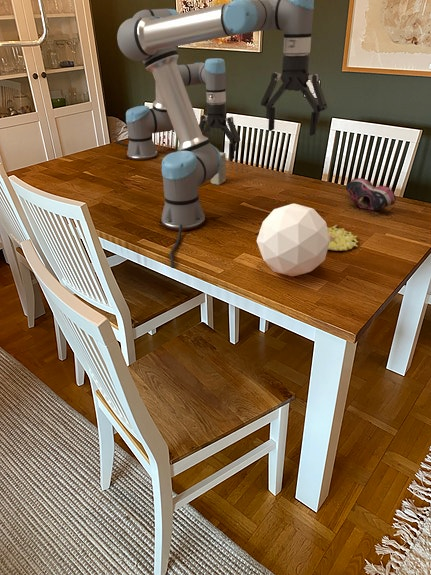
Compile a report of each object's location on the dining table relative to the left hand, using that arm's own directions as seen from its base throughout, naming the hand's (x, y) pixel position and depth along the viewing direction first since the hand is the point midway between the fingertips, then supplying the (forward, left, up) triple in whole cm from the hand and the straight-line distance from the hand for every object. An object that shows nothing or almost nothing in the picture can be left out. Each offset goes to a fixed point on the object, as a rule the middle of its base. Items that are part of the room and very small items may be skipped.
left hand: (217, 157), depth 184 cm
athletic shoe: (+59, +19, -11) cm, 63 cm away
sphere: (+70, -36, -11) cm, 79 cm away
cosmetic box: (0, 0, -11) cm, 11 cm away
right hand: (+48, -13, +20) cm, 54 cm away
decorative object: (+66, -12, -11) cm, 68 cm away
